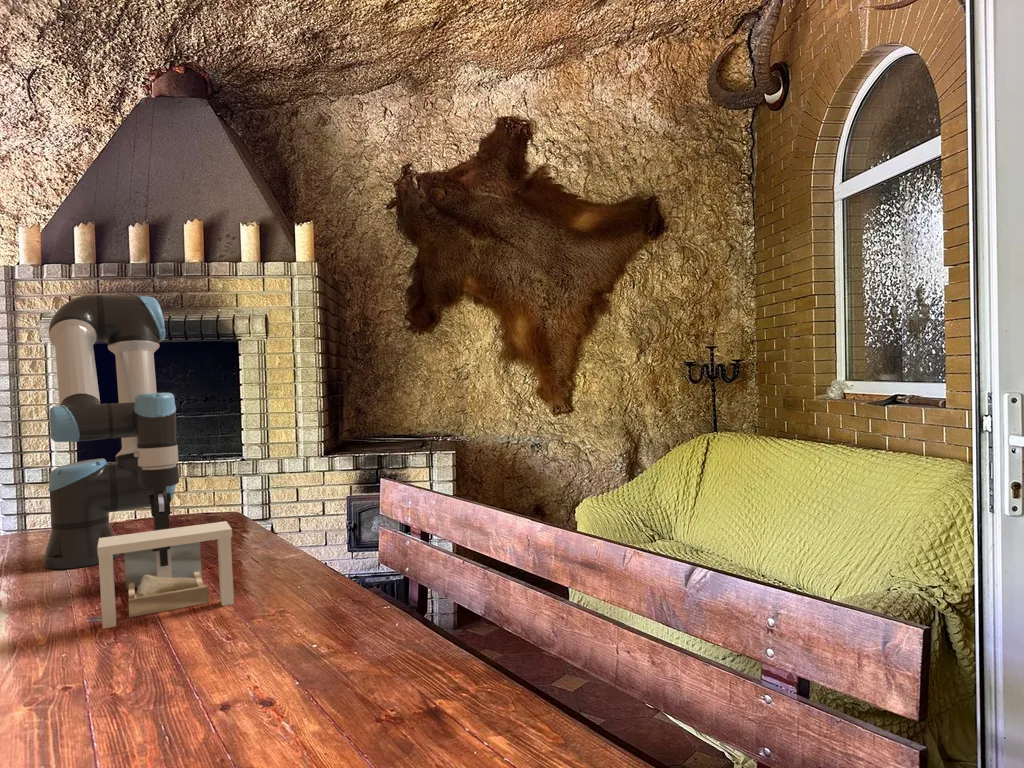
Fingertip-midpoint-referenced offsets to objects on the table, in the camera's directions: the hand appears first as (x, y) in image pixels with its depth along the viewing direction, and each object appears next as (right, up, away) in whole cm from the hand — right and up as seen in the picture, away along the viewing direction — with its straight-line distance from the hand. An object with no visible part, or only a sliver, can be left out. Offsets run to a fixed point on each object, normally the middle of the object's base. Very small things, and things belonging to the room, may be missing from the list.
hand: (164, 577), depth 145 cm
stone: (+7, 0, -13) cm, 15 cm away
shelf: (+11, -1, -20) cm, 23 cm away
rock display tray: (+5, -1, -8) cm, 10 cm away
